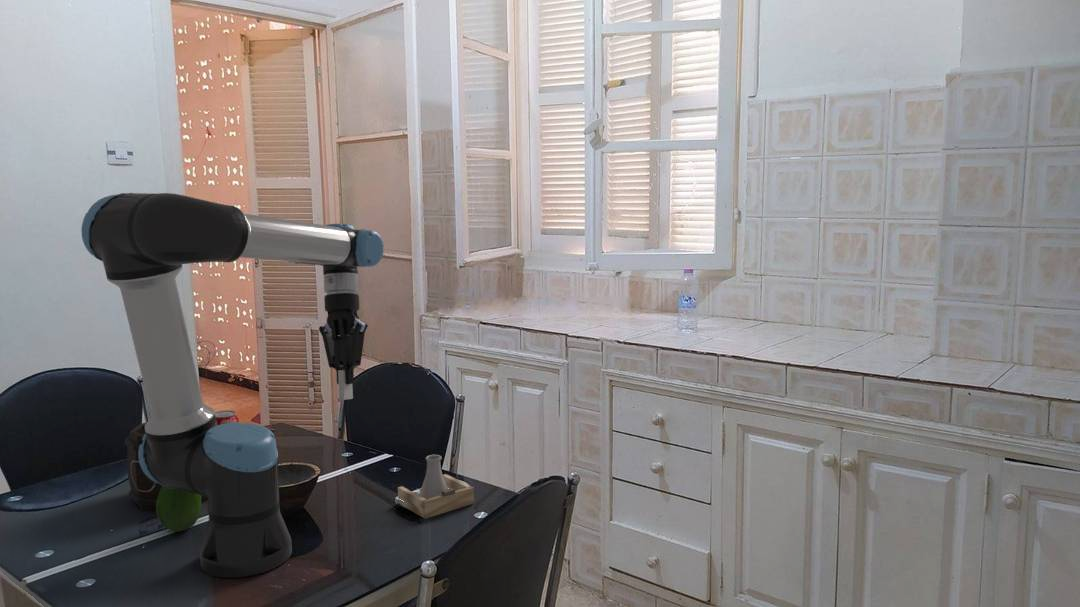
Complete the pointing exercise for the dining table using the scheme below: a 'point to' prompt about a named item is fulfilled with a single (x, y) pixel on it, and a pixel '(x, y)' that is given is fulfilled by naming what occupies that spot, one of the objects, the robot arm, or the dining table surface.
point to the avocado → (177, 508)
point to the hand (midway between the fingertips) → (346, 399)
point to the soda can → (226, 417)
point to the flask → (433, 478)
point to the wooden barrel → (141, 473)
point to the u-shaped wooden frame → (438, 499)
